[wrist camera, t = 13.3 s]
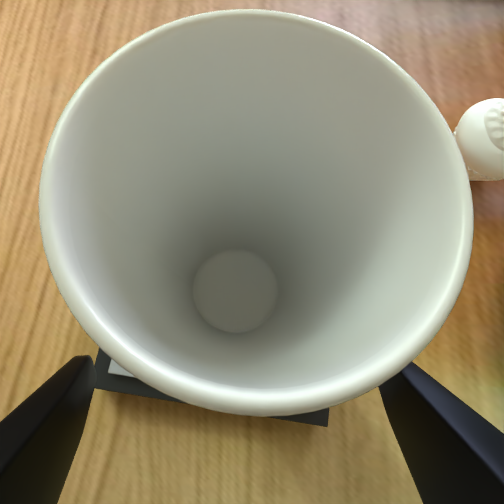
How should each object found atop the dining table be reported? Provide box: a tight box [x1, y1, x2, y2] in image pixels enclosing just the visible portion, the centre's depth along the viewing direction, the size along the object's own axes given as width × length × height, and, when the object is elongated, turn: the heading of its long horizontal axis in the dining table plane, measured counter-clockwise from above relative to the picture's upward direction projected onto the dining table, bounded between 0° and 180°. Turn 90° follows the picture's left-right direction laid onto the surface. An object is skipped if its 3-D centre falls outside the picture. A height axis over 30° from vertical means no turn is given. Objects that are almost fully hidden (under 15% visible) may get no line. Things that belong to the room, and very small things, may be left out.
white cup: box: [39, 9, 474, 417], centre depth 12 cm, size 7×7×15 cm
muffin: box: [453, 98, 504, 181], centre depth 23 cm, size 6×6×7 cm
